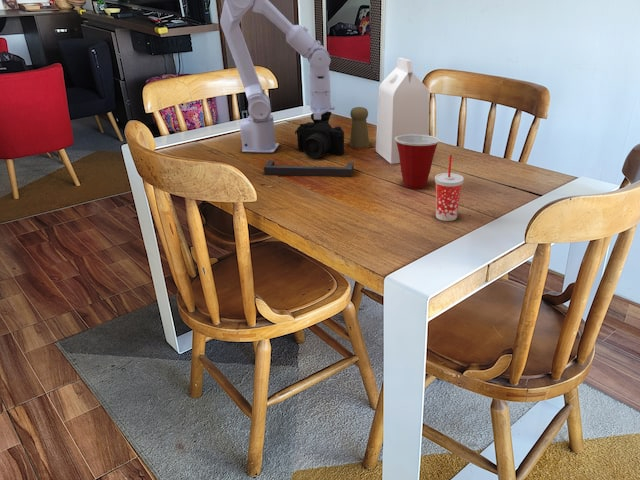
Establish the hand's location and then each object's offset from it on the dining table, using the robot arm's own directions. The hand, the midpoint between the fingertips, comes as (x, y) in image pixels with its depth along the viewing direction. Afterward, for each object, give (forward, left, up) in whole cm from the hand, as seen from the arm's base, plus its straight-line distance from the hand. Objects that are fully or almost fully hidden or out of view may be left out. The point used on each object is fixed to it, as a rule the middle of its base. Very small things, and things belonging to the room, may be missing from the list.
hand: (322, 137), depth 170 cm
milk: (+24, -7, -3) cm, 25 cm away
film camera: (0, -8, -3) cm, 9 cm away
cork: (+11, +2, -3) cm, 11 cm away
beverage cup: (+35, -49, -3) cm, 61 cm away
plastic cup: (+28, -30, -3) cm, 41 cm away
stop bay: (0, -23, -2) cm, 23 cm away
